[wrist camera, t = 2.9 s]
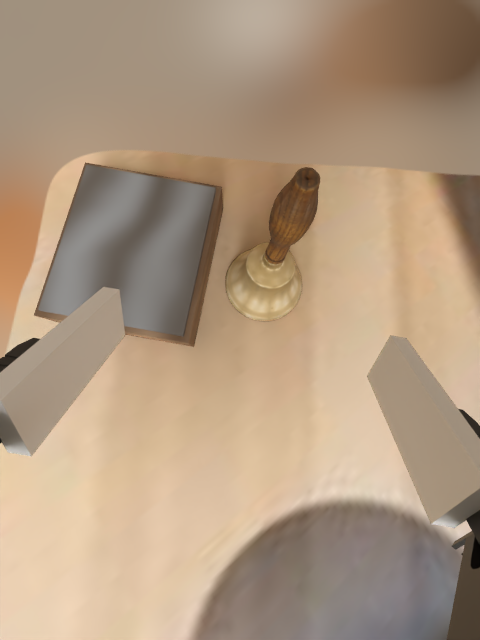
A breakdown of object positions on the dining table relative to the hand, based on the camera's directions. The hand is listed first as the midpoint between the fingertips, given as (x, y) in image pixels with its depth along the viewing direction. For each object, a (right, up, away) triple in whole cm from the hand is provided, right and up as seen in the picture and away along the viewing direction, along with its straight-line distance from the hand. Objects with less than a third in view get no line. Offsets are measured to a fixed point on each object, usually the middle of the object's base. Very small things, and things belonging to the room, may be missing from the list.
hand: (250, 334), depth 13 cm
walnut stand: (-11, +7, +15) cm, 20 cm away
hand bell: (+2, +5, +16) cm, 16 cm away
